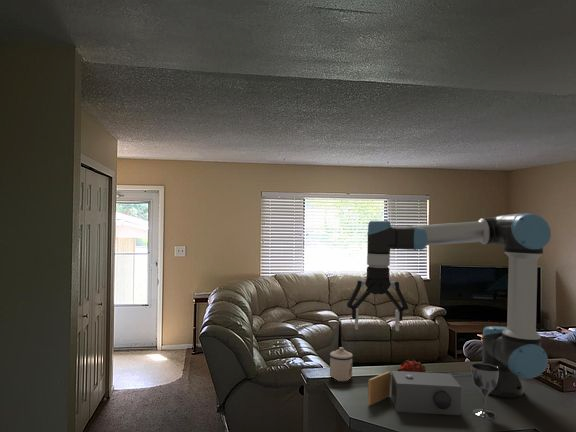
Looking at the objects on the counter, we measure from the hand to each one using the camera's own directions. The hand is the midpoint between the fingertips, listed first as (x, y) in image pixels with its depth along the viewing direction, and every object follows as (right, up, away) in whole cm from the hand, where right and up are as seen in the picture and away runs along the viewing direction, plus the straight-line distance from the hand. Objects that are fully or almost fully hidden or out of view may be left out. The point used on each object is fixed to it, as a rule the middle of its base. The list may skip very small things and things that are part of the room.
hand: (376, 329), depth 147 cm
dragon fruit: (+18, -26, +21) cm, 38 cm away
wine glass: (+33, -25, -7) cm, 42 cm away
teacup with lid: (-9, -25, +25) cm, 36 cm away
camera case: (+16, -25, -1) cm, 29 cm away
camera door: (+1, -24, +2) cm, 24 cm away
